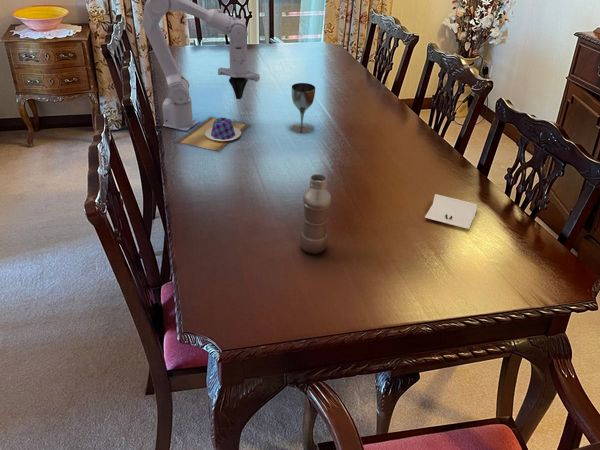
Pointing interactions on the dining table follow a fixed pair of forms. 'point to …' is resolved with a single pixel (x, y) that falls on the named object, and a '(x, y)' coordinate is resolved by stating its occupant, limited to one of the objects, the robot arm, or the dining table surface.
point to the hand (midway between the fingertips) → (239, 98)
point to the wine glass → (302, 103)
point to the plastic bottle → (315, 215)
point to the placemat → (201, 140)
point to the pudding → (222, 130)
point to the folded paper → (452, 211)
